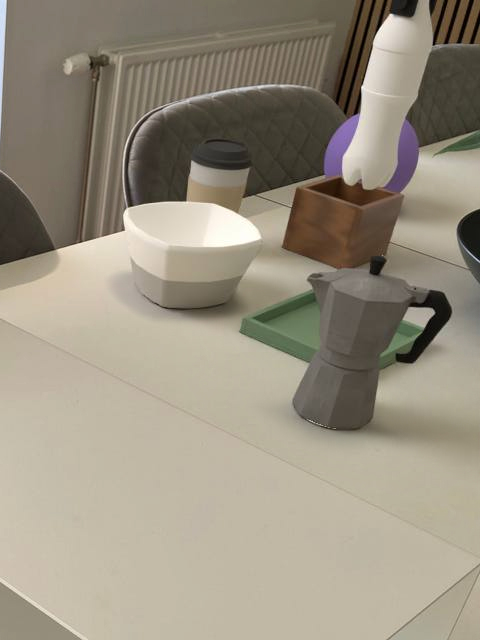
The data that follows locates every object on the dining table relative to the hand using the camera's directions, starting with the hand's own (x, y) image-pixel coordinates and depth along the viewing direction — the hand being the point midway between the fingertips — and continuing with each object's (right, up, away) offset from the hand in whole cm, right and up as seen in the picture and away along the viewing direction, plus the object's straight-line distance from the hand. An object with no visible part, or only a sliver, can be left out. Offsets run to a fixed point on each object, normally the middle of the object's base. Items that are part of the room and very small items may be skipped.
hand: (411, 12), depth 123 cm
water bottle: (-1, -15, +14) cm, 20 cm away
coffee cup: (-19, -17, +31) cm, 40 cm away
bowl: (-26, -29, +17) cm, 42 cm away
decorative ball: (+11, -2, +50) cm, 51 cm away
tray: (-7, -38, +8) cm, 39 cm away
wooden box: (+1, -17, +32) cm, 36 cm away
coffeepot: (-11, -51, -7) cm, 53 cm away
